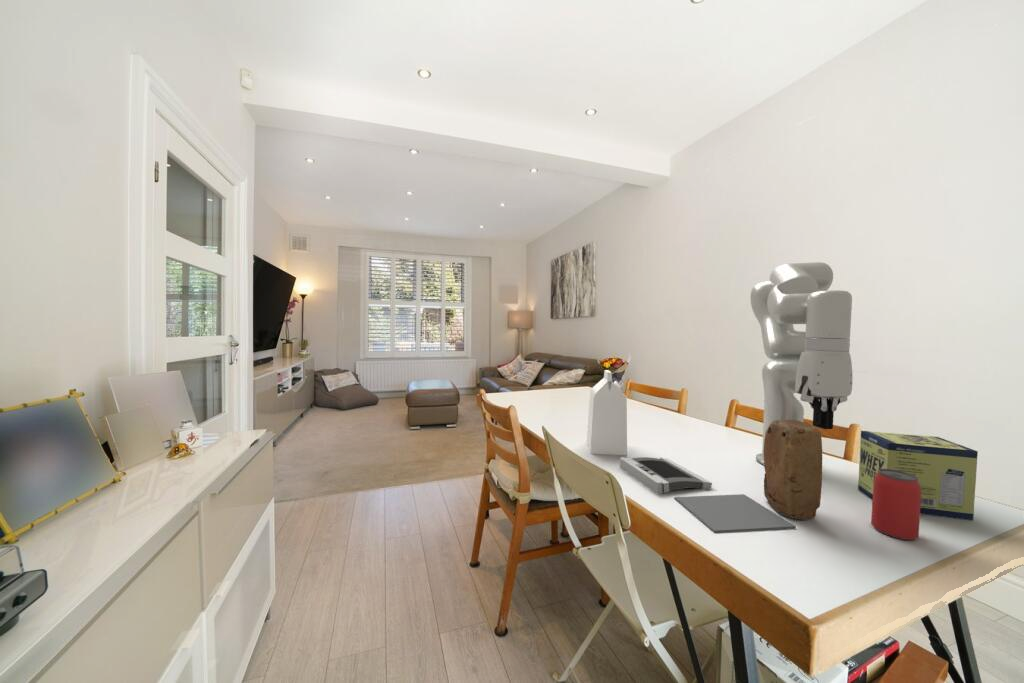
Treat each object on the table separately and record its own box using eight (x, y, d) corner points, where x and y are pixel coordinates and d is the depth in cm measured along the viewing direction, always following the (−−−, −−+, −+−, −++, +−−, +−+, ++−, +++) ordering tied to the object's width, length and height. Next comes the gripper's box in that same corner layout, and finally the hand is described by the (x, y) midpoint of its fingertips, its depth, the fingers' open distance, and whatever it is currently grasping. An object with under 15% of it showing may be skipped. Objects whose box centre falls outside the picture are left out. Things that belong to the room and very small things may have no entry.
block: (823, 524, 75) (828, 429, 74) (785, 521, 76) (789, 428, 75) (790, 499, 85) (794, 416, 85) (756, 497, 86) (760, 415, 86)
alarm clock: (619, 457, 103) (668, 449, 107) (620, 473, 104) (668, 464, 108) (657, 483, 87) (713, 472, 91) (658, 501, 87) (713, 489, 91)
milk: (586, 441, 127) (588, 368, 126) (619, 443, 126) (621, 369, 125) (590, 453, 115) (592, 373, 114) (627, 455, 114) (629, 374, 113)
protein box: (855, 489, 91) (859, 429, 91) (935, 499, 87) (939, 436, 86) (883, 509, 82) (888, 442, 81) (975, 521, 77) (980, 450, 76)
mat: (743, 495, 87) (743, 494, 87) (795, 528, 73) (795, 526, 73) (674, 498, 85) (674, 497, 85) (714, 532, 71) (714, 530, 71)
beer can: (861, 522, 76) (864, 466, 75) (893, 523, 75) (897, 467, 75) (893, 541, 69) (897, 480, 69) (929, 542, 69) (933, 481, 68)
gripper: (838, 346, 84) (834, 422, 85) (781, 345, 83) (778, 423, 83) (874, 347, 77) (869, 431, 78) (813, 347, 75) (808, 433, 76)
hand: (822, 427), depth 81 cm, fingers closed
